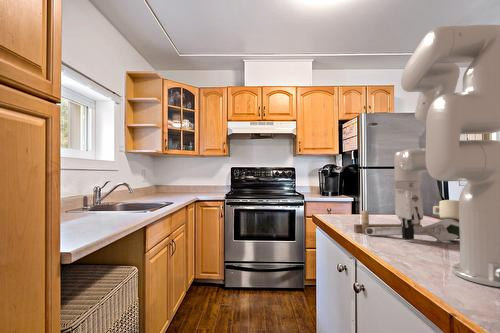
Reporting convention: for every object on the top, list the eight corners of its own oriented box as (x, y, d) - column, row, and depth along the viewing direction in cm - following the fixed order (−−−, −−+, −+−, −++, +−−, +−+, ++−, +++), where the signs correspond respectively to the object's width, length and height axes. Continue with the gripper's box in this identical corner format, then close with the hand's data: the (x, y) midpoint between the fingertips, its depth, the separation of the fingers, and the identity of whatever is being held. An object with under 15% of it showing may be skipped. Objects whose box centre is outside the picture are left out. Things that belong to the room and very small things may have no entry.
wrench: (366, 242, 105) (464, 243, 90) (366, 242, 103) (464, 242, 89) (365, 221, 108) (458, 219, 93) (364, 220, 106) (459, 218, 92)
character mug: (471, 242, 94) (470, 205, 98) (472, 239, 89) (471, 200, 92) (433, 238, 101) (433, 203, 104) (432, 235, 95) (432, 199, 99)
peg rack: (426, 234, 106) (426, 211, 106) (359, 234, 106) (358, 211, 107) (418, 231, 111) (418, 209, 111) (354, 231, 112) (353, 209, 112)
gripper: (431, 187, 88) (432, 244, 88) (406, 185, 103) (407, 233, 103) (407, 187, 88) (409, 244, 88) (386, 185, 103) (387, 233, 103)
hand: (408, 238), depth 95 cm, fingers closed
